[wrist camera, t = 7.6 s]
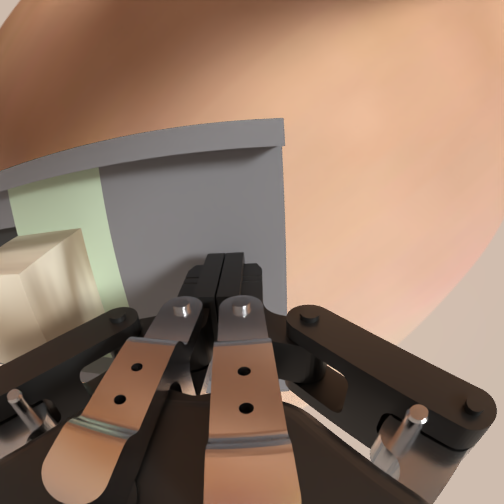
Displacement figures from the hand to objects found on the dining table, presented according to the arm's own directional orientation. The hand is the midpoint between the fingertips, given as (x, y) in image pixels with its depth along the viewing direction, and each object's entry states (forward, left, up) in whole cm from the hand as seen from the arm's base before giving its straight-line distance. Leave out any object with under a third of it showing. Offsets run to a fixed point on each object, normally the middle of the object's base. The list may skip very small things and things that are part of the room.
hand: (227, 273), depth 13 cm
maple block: (0, -10, -1) cm, 10 cm away
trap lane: (0, -9, -3) cm, 9 cm away
